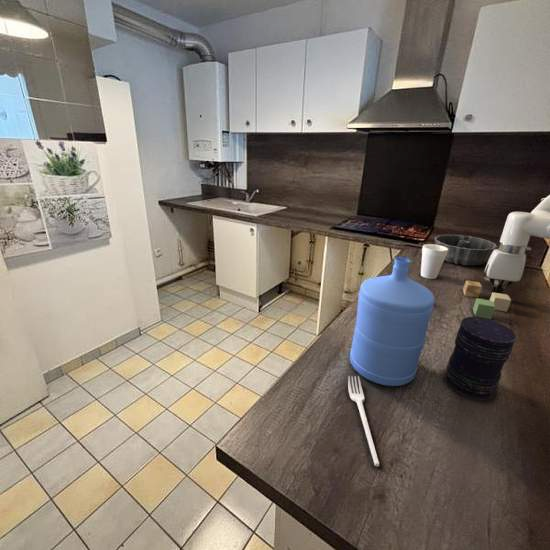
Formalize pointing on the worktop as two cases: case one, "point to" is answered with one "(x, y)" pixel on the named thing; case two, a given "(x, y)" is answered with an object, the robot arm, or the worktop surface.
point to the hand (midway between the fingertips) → (495, 295)
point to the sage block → (483, 308)
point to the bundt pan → (466, 249)
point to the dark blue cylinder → (479, 357)
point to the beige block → (500, 301)
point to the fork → (362, 414)
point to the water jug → (391, 326)
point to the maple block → (472, 289)
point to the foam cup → (432, 260)
